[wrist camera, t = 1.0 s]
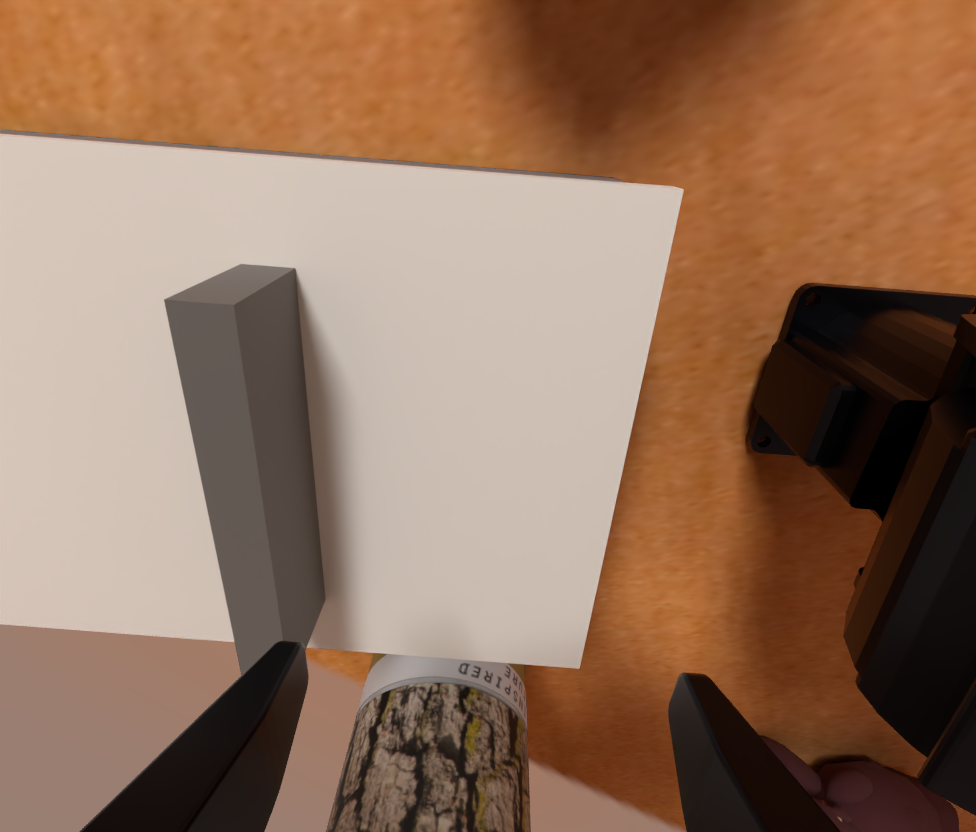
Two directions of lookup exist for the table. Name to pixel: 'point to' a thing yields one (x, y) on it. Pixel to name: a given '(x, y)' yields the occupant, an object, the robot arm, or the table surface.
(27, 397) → the lid
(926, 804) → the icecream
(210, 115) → the table surface
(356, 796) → the paper tube
